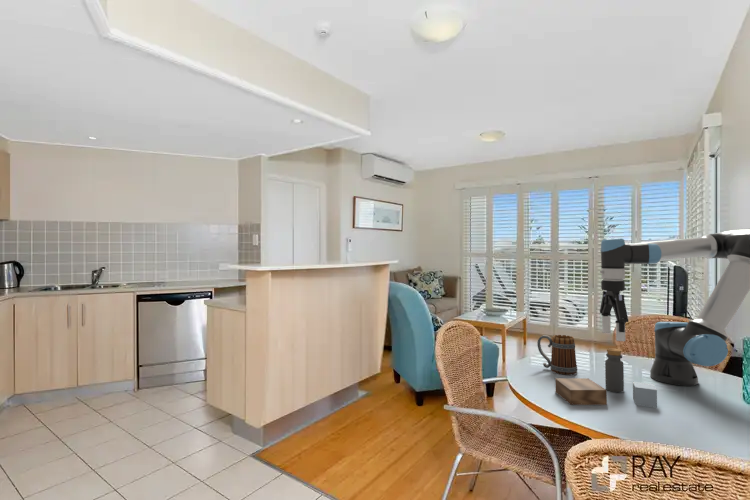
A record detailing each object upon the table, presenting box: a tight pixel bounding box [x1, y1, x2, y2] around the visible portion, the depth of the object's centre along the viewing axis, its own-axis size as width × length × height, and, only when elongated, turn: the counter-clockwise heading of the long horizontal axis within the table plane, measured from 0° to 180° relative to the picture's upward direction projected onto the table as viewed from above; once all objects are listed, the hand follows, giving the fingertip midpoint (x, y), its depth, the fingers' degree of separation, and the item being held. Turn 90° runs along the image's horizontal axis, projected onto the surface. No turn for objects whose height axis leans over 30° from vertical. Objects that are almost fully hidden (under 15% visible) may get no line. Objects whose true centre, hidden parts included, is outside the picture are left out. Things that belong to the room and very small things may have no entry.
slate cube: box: [632, 381, 658, 409], centre depth 133 cm, size 6×6×6 cm
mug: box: [536, 334, 578, 376], centre depth 169 cm, size 16×11×15 cm
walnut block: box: [554, 377, 608, 406], centre depth 138 cm, size 12×12×5 cm
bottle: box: [604, 347, 625, 393], centre depth 146 cm, size 6×6×15 cm
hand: (613, 336), depth 146 cm, fingers open, 13 cm apart
